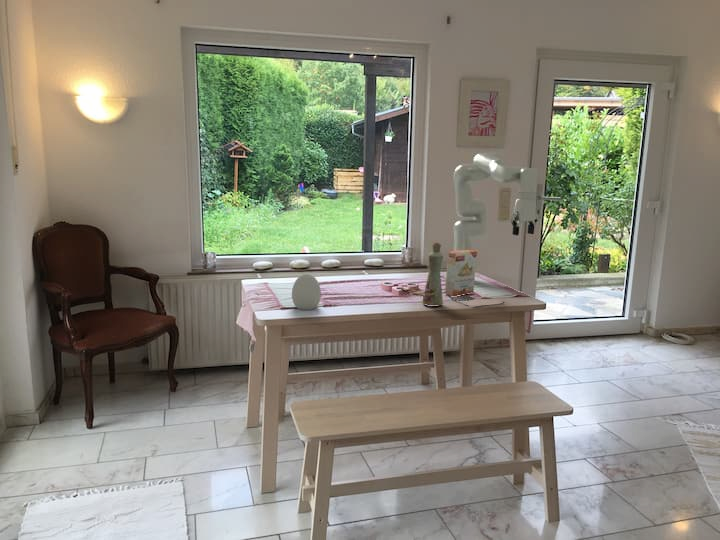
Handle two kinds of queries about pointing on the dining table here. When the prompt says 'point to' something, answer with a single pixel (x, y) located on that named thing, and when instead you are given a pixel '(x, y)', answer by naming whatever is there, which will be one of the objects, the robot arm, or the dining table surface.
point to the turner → (417, 292)
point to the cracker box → (460, 272)
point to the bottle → (434, 278)
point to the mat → (462, 298)
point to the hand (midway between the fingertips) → (523, 234)
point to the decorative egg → (306, 292)
